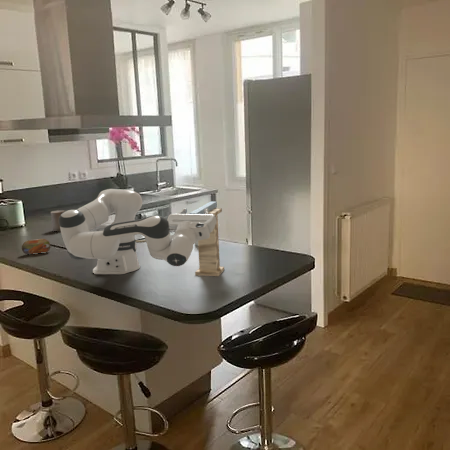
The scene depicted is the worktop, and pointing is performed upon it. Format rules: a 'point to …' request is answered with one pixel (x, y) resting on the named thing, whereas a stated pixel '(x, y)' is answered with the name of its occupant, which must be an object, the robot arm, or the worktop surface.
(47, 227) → the worktop surface
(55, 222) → the pillar candle
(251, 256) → the worktop surface
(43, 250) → the tin
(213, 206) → the frame bar
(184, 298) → the worktop surface
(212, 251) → the stand
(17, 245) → the worktop surface
